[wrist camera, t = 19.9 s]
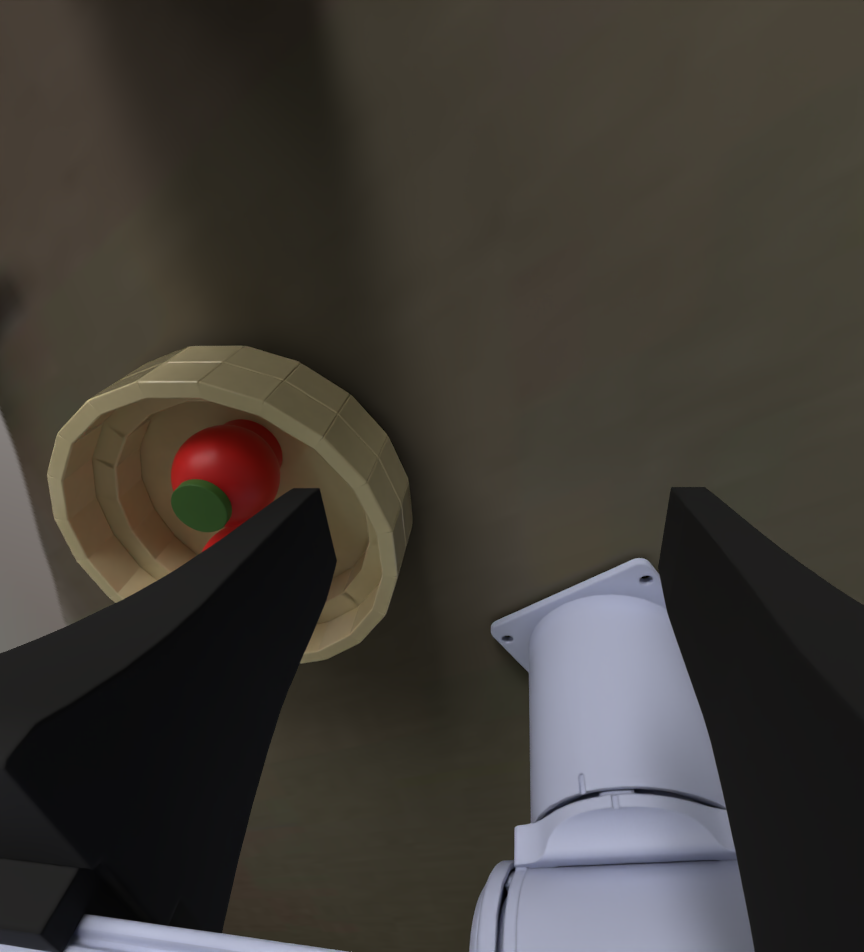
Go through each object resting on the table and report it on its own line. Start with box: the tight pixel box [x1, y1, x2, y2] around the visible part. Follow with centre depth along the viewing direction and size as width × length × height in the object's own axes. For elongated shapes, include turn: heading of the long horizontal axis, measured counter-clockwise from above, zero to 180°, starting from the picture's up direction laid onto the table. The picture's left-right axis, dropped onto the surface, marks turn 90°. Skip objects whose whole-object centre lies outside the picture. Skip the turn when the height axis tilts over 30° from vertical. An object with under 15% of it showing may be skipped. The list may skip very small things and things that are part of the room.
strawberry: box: [171, 419, 282, 532], centre depth 20 cm, size 4×4×4 cm
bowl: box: [47, 346, 413, 664], centre depth 22 cm, size 13×13×4 cm
